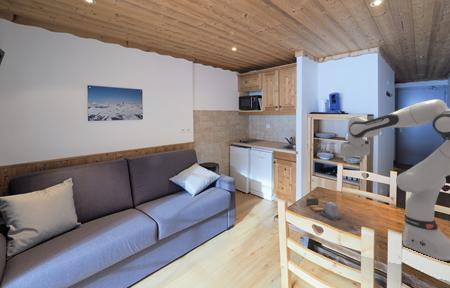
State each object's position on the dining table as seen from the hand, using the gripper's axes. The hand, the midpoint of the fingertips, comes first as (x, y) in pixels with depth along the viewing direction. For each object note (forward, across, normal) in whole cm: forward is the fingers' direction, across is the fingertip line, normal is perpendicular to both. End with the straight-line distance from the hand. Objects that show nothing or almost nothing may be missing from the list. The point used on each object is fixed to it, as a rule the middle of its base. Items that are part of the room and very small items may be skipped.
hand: (354, 162), depth 144 cm
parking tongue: (+36, -14, +3) cm, 39 cm away
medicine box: (+36, -14, +3) cm, 39 cm away
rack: (+36, -15, +18) cm, 43 cm away
